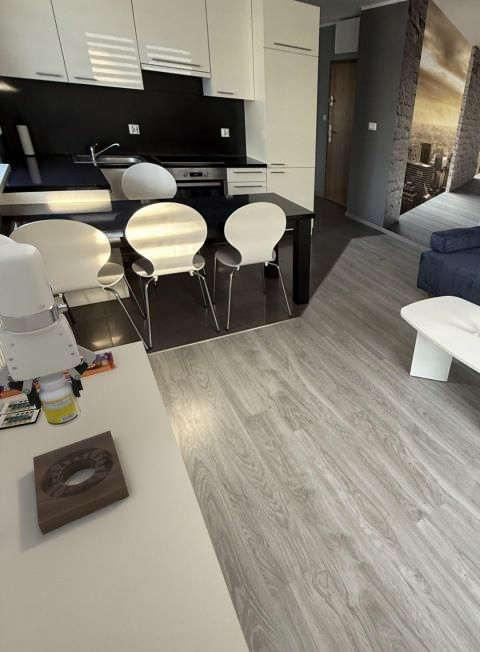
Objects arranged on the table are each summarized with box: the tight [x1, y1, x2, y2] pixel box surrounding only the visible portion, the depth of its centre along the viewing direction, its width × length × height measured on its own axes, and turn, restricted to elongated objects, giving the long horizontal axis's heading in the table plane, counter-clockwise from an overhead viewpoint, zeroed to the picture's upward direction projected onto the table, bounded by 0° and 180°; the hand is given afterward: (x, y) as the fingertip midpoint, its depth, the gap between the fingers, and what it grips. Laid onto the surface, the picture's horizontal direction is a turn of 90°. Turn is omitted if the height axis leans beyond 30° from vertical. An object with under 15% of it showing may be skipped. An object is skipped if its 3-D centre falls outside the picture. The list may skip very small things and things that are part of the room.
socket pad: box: [32, 430, 130, 535], centre depth 81 cm, size 18×14×3 cm
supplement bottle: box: [37, 371, 82, 428], centre depth 75 cm, size 5×5×10 cm
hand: (58, 398), depth 75 cm, fingers closed on supplement bottle, 5 cm apart
